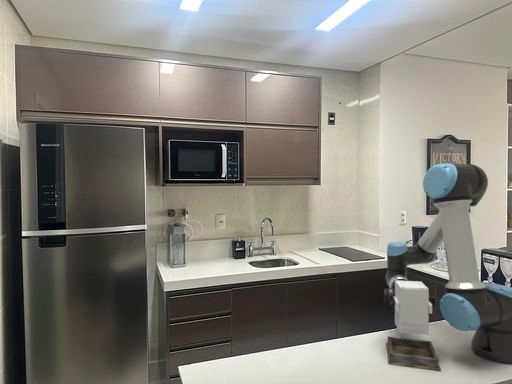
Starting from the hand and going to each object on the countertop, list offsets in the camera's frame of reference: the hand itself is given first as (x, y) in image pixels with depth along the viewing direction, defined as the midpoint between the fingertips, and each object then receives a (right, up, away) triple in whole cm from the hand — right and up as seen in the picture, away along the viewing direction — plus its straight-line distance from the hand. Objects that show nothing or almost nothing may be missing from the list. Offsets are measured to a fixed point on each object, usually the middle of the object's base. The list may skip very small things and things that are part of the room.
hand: (414, 308), depth 113 cm
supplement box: (+1, -9, +5) cm, 10 cm away
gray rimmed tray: (+1, -18, +5) cm, 18 cm away
